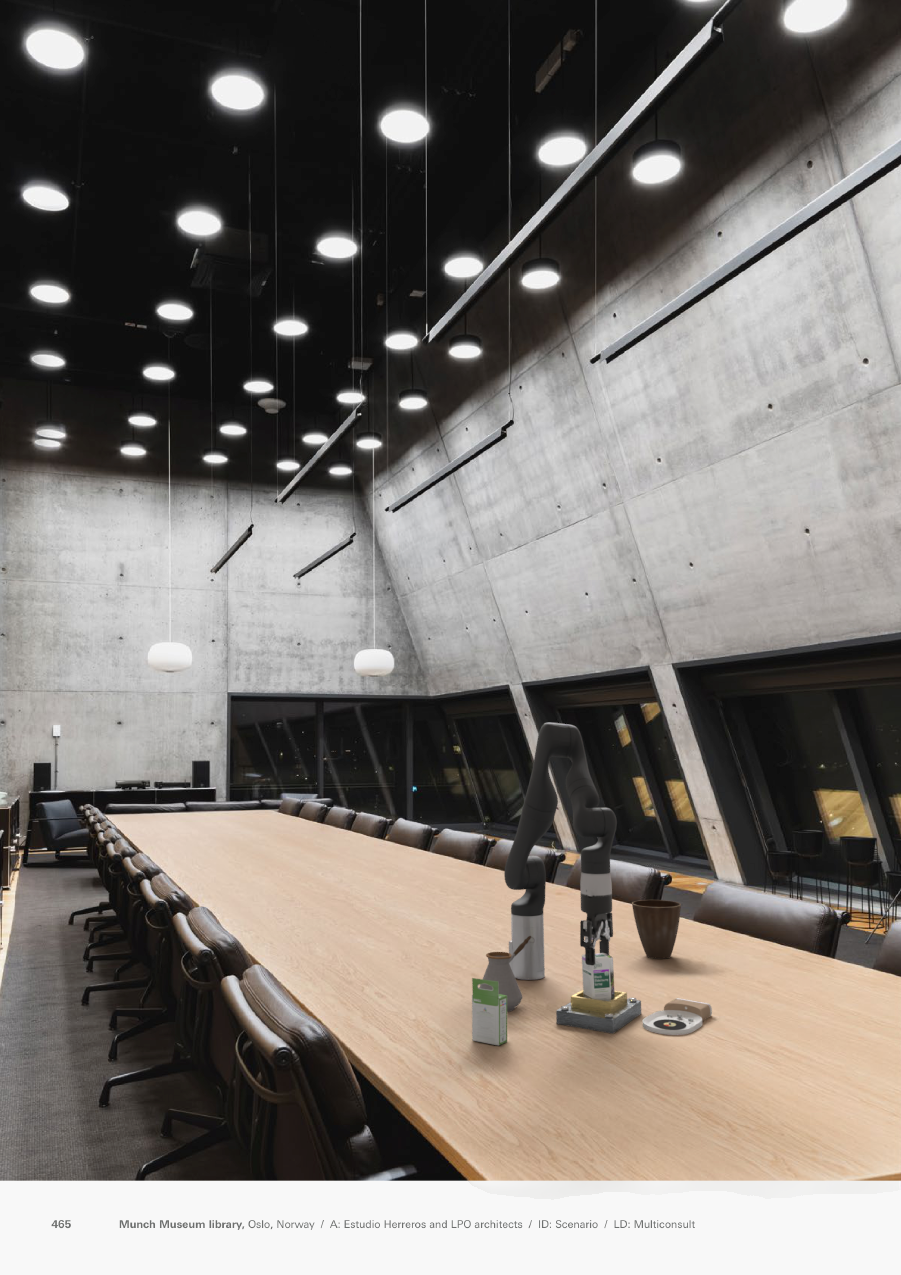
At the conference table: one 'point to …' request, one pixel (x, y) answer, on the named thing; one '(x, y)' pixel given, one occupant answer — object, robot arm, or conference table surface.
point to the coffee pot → (504, 975)
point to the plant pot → (657, 926)
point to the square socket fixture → (599, 1012)
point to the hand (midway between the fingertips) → (597, 961)
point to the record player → (678, 1017)
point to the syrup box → (598, 978)
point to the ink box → (488, 1013)
